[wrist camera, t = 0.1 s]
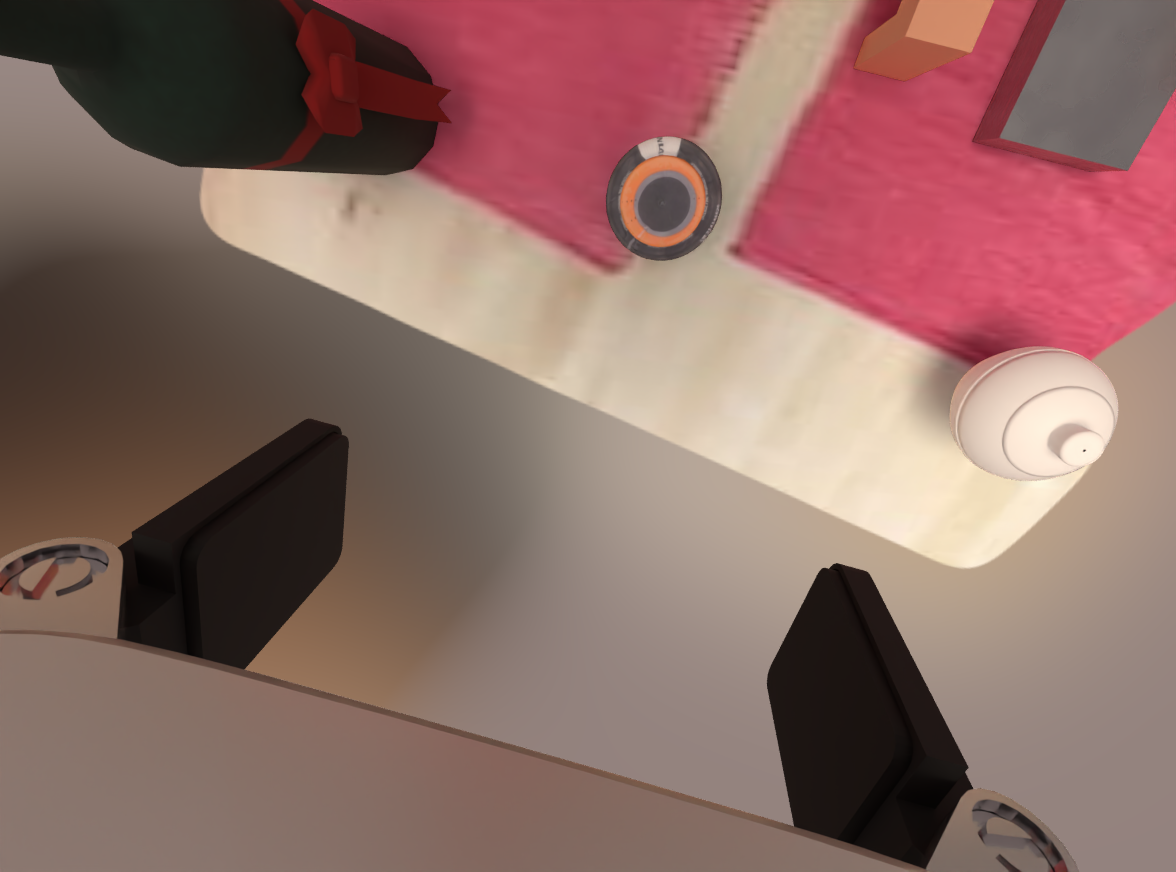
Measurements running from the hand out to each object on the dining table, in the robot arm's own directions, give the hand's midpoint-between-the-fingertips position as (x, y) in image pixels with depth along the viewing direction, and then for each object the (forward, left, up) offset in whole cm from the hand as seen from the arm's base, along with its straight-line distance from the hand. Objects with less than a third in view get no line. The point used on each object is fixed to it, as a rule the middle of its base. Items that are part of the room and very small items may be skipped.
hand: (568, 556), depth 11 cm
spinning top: (0, +23, -31) cm, 39 cm away
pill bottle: (-6, 0, -31) cm, 32 cm away
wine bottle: (-7, -18, -31) cm, 37 cm away
